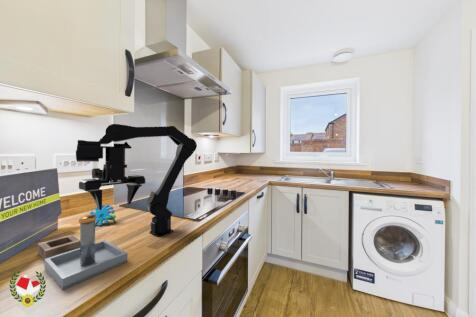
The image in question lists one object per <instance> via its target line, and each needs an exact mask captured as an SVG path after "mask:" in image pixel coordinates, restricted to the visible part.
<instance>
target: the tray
mask: <svg viewBox="0 0 476 317" xmlns="http://www.w3.org/2000/svg"><path fill="white" fill-rule="evenodd" d="M127 262H128V252H127V251H125V250H123V249H121V248H119V247H118V246H116V245H114V244H113V243H110V242H109V241H107V240H106V239H104V240H101V241H97V242H95V262H94V263H93V264H90V265H87V266H81V265H80V248H78V249H75V250H72V251H69V252H65V253H62V254H59V255H56V256H53V257H50V258H47V259H45V261H44V269H45V271H46V272H47V273H48V275H49V276H50V277H51V279H53V281H54V282H55V283H56V284H57V285H58V287H59V288H60V289H61V290H62V291H65V289H68V288H70V287H72V286H73V287H74V286H75V285H78V284H80V283H82V282H84V281H86V280H89V279H91V278H93V277H95V276H97V275H100V274H102V273H104V272H106V271H109V270H111V269H114V268H116V267H118V266H120V265H123V264H125V263H127Z"/></svg>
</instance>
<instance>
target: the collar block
mask: <svg viewBox="0 0 476 317" xmlns="http://www.w3.org/2000/svg"><path fill="white" fill-rule="evenodd" d="M78 248H80V238H78V237H76V236H75V235H73V234H69V235H65V236H61V237H57V238H54V239H50V240H46V241H43V242H38V243H37V254H38V256H39V257H40V258H41V259H42V260H43V261H44V262H45V259H47V258H50V257H53V256H56V255H59V254H62V253H65V252H69V251H72V250H75V249H78Z"/></svg>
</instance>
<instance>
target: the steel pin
mask: <svg viewBox="0 0 476 317" xmlns="http://www.w3.org/2000/svg"><path fill="white" fill-rule="evenodd" d="M96 220H97V216H96V215H91V214H88V215H83V216H80V217H78V224H80V225H79V232H80V234H79V240H80V265H81V266H87V265H90V264H93V263H94V262H95V243H96V226H95V222H96Z"/></svg>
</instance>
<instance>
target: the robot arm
mask: <svg viewBox="0 0 476 317" xmlns="http://www.w3.org/2000/svg"><path fill="white" fill-rule="evenodd" d="M157 137H168V138H169V139H170V140H171V141H172V142H173V143H174V144H175V145H177V147H176V149H175V156H174V159H173V160H172V162H171V165H170V166H169V168H168V170H167V172H166V174H165V176H164V178H163V180H162V181H161V183H160V186H159V187H158V189H156V191H155V192H154V191H153V190H151V192H150V195H149V197H148V198H147V199H146V201H147V203H146V208H147V210H148V211H149V213H150V214H151V215H153V216H152V217H151V222H150V230H149V234H151V235H154V236H156V237H159V238H160V237H162V236H165V235H168V234H170V233H172V232H174V229H172V226H171V225H172V216H173V213H172V212H171V211H170V209H169V208H168V207H167V206H168V203H169V198H170V193H171V191H172V189H173V187H174V185H175V184H176V181H177V179H178V177H179V175H180V173H181V171H182V169H183V167H184V166H185V163H186V161H188V159H190V157H191V156H192V155H193V154H194V152H195V151H196V150H197V147H198V145H197V141H196V140H195V139H193V138H190V137H189V136H188V135H187V134H185V133H183V132H182V131H180V130H179V129H178V128H177V127H176V126H174V125H169V126H167V125H166V126H131V125H126V124H119V123H111V124H108V126H107V127H106V129H105V134H104V135H103V136H102V137H101V138H100V139H99V140H98V141H96V140H95V141H94V140H84V139H83V140H82V139H78V140H77V145H76V150H75V160H76V162H77V163H78V162H80V163H82V162H85V163H87V162H92V163H93V162H95V163H97V162H99V161H100V159H101V160H102V159H104V158H105V162H104V163H105V164H103V168H102V169H101V168H98V167H97V168H96V167H95V168H92V169H91V178H87V179H86V178H85V179H81V180H80V181H79V182H78V189H79V190H82V191H85V192H87V193H89V194H90V195H91V196H92V199H93V200H94V203H95V204H96V207H98V210H101V209H103V208H102V205H103V190H102V189H100V188H101V187H105V186H115V185H123V184H126V187H127V197H126V198H127V203H126V204H127V205H131V204H132V201H133V199H134V197H135V195H136V193H137V192H138V190H139V189H140V187H143V185H145V184H146V178H145V176H144V175H135V174H134V175H127V176H126V168H128V164H126V149H128V150H129V149H130V150H131V149H132V146H131V145H130V144H129V143H128V142H127V141H128V140H132V139H139V138H141V139H142V138H157ZM119 142H124V143H119ZM110 143H113V145H112V146H111V145H110V146H109V144H110ZM107 145H108V146H107ZM104 149H105V156H104Z"/></svg>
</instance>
